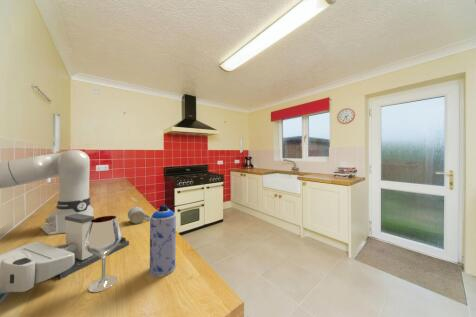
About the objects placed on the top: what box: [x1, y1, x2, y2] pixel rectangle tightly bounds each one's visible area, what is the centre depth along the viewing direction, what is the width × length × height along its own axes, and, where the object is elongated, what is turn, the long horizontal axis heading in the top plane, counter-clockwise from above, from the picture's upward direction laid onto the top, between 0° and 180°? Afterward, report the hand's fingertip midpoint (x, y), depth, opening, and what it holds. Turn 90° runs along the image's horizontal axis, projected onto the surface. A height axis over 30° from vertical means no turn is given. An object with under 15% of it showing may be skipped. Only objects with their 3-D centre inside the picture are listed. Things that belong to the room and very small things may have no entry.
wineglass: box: [84, 215, 123, 293], centre depth 48 cm, size 8×8×18 cm
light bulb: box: [127, 206, 151, 225], centre depth 95 cm, size 11×8×8 cm
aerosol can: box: [148, 204, 177, 278], centre depth 54 cm, size 8×8×20 cm
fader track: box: [53, 236, 130, 280], centre depth 61 cm, size 12×21×2 cm, turn 160°
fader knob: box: [65, 213, 95, 260], centre depth 58 cm, size 9×3×13 cm, turn 70°
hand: (74, 245), depth 57 cm, fingers closed, pressing on fader knob
